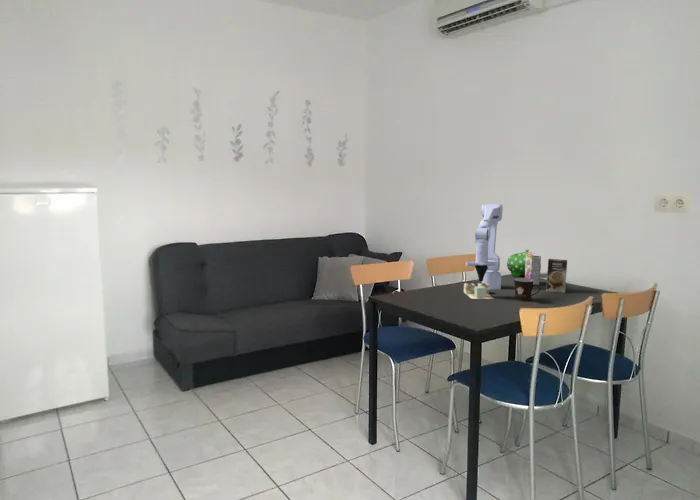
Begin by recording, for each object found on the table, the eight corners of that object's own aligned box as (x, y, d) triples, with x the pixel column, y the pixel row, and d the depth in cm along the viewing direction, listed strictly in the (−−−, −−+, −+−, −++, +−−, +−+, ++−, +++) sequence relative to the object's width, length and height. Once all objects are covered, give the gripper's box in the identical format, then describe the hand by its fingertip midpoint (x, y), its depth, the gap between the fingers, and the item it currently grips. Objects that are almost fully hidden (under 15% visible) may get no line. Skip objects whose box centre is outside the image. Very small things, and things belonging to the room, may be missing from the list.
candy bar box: (523, 281, 291) (525, 252, 289) (532, 282, 291) (534, 252, 289) (530, 286, 280) (532, 255, 278) (539, 286, 280) (541, 255, 278)
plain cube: (483, 295, 256) (483, 286, 255) (486, 297, 251) (486, 288, 251) (474, 295, 256) (474, 286, 255) (476, 297, 251) (477, 288, 251)
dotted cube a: (486, 292, 263) (486, 282, 262) (489, 294, 259) (489, 284, 258) (477, 292, 263) (477, 282, 262) (480, 294, 258) (480, 284, 258)
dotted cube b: (472, 292, 263) (472, 282, 262) (474, 294, 258) (475, 284, 258) (463, 292, 263) (463, 282, 262) (465, 294, 258) (466, 284, 257)
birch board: (485, 292, 264) (485, 291, 264) (494, 299, 249) (494, 298, 249) (463, 292, 264) (463, 291, 264) (471, 299, 249) (471, 298, 249)
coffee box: (546, 291, 268) (547, 260, 265) (546, 288, 274) (548, 258, 271) (565, 293, 264) (567, 261, 262) (565, 290, 270) (567, 259, 268)
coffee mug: (509, 299, 250) (510, 278, 249) (523, 297, 253) (524, 277, 252) (526, 305, 239) (527, 283, 238) (541, 303, 243) (542, 282, 241)
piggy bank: (540, 278, 300) (542, 252, 298) (507, 277, 303) (509, 252, 301) (536, 274, 314) (537, 249, 312) (505, 273, 317) (506, 248, 315)
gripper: (469, 254, 246) (467, 282, 248) (499, 254, 247) (498, 282, 249) (465, 252, 253) (464, 279, 255) (495, 252, 254) (493, 279, 256)
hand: (480, 280), depth 252 cm, fingers closed
